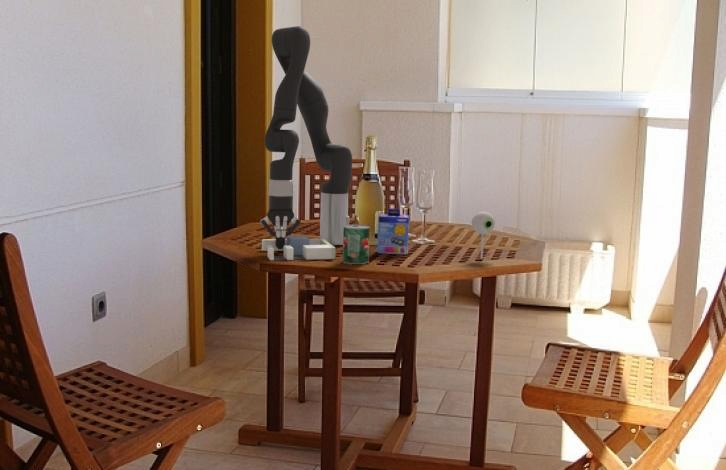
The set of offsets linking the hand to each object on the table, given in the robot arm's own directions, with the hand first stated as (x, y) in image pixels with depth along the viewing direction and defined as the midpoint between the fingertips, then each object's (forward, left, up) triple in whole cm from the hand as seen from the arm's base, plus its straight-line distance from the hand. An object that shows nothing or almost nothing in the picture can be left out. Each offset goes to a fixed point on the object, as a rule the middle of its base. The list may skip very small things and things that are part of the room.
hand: (280, 248), depth 289 cm
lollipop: (-61, +16, -2) cm, 63 cm away
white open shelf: (-5, +2, -2) cm, 6 cm away
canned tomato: (-20, +17, -2) cm, 26 cm away
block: (-6, 0, -2) cm, 6 cm away
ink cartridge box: (-36, +2, -2) cm, 36 cm away
